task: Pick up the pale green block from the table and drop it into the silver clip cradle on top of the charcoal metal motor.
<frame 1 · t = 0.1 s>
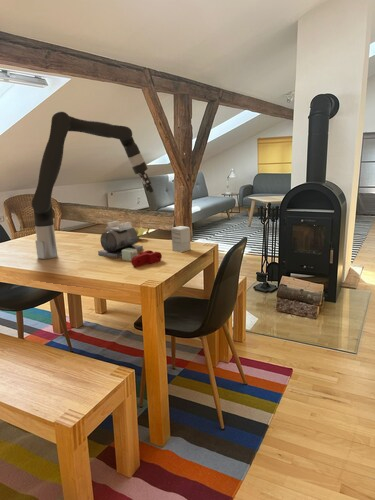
hand: (150, 191, 212), 31 cm above the table, tool tilted 20°, fingers open, 8 cm apart
mechanical linkage: (145, 264, 189), on the table
plastic component: (127, 241, 237), on the table
motor: (121, 252, 211), on the table
pale green block: (130, 259, 197), on the table
supplement box: (181, 250, 211), on the table
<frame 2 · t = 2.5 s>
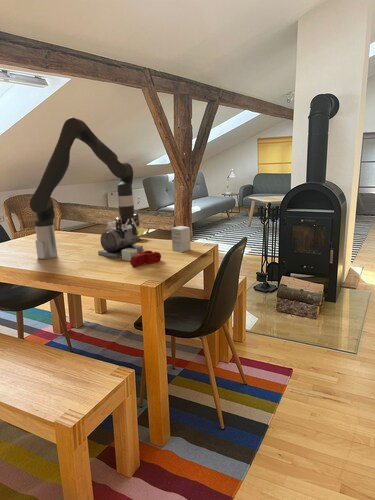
hand: (128, 236, 194), 12 cm above the table, tool pointing down, fingers open, 8 cm apart
nothing on the table moved.
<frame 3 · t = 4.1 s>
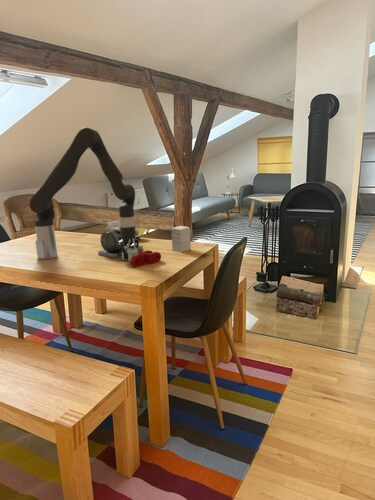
hand: (129, 258, 197), 0 cm above the table, tool pointing down, fingers closed on pale green block, 5 cm apart
pale green block: (130, 259, 197), on the table, touching gripper
everything else where it was.
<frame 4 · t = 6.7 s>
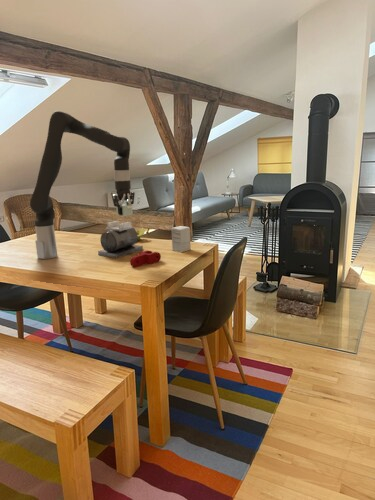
hand: (124, 213, 193), 23 cm above the table, tool pointing down, fingers closed on pale green block, 5 cm apart
pale green block: (124, 215, 193), point 22 cm above the table, touching gripper
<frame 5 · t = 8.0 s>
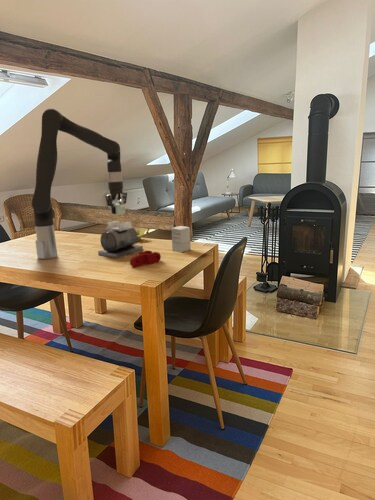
hand: (117, 212, 205), 22 cm above the table, tool pointing down, fingers closed on pale green block, 5 cm apart
pale green block: (118, 213, 206), point 21 cm above the table, touching gripper
when the fingers open (16 cm above the table, at t = 9.4 s): pale green block drops 1 cm, resting on motor.
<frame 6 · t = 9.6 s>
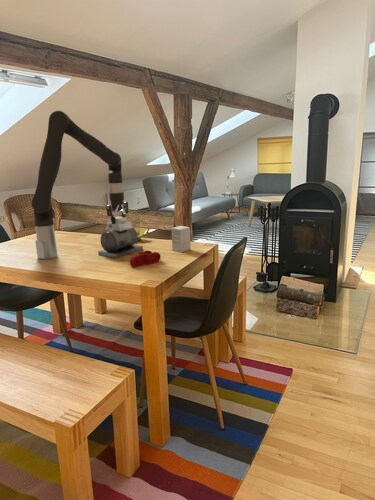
hand: (118, 222, 207), 16 cm above the table, tool pointing down, fingers open, 7 cm apart
pale green block: (119, 226, 207), point 14 cm above the table, touching motor
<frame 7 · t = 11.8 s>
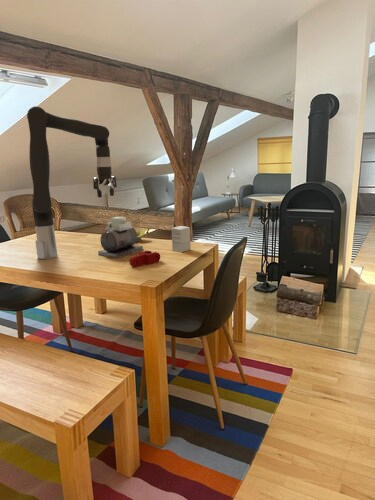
hand: (105, 196, 209), 30 cm above the table, tool pointing down, fingers open, 8 cm apart
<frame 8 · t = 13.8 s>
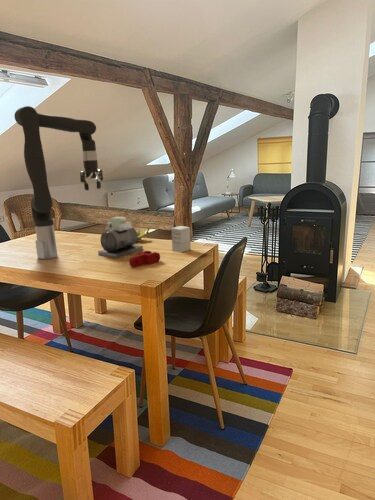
hand: (93, 189, 215), 33 cm above the table, tool pointing down, fingers open, 8 cm apart
at the end: pale green block 0.1 cm off-centre on the motor, point 14.0 cm above the motor's base; pale green block tilted 0°; the gripper is holding nothing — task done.
